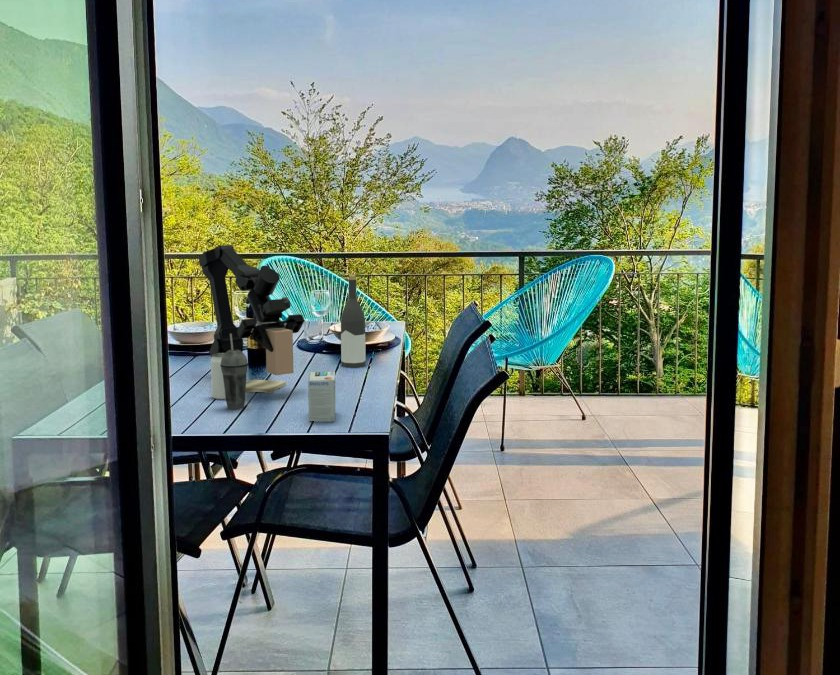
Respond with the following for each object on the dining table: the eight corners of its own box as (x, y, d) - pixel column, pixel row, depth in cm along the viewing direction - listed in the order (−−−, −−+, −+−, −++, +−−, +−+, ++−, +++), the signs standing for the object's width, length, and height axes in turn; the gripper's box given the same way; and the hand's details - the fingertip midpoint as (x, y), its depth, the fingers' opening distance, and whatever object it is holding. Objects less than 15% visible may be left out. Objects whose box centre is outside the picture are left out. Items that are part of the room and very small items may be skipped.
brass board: (234, 391, 252) (234, 387, 251) (252, 383, 262) (252, 379, 262) (269, 393, 249) (269, 389, 248) (286, 385, 259) (286, 381, 259)
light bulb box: (310, 412, 227) (309, 371, 226) (336, 411, 228) (335, 370, 226) (308, 422, 217) (307, 380, 215) (335, 421, 217) (334, 379, 216)
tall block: (266, 372, 244) (265, 329, 242) (284, 369, 248) (283, 328, 246) (275, 375, 240) (274, 332, 238) (293, 373, 243) (292, 330, 241)
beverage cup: (254, 405, 235) (252, 331, 231) (240, 411, 228) (238, 335, 225) (231, 403, 237) (228, 330, 234) (216, 409, 230) (213, 334, 227)
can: (229, 400, 241) (228, 357, 239) (208, 399, 242) (206, 356, 240) (239, 395, 247) (237, 353, 245) (217, 394, 248) (216, 352, 246)
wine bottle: (370, 364, 291) (369, 274, 286) (356, 368, 284) (354, 276, 279) (351, 362, 295) (349, 273, 290) (336, 366, 288) (334, 275, 283)
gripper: (240, 290, 238) (260, 335, 231) (300, 286, 249) (321, 329, 242) (228, 315, 245) (247, 360, 238) (287, 310, 256) (307, 353, 249)
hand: (281, 349), depth 242 cm, fingers closed on tall block, 5 cm apart
